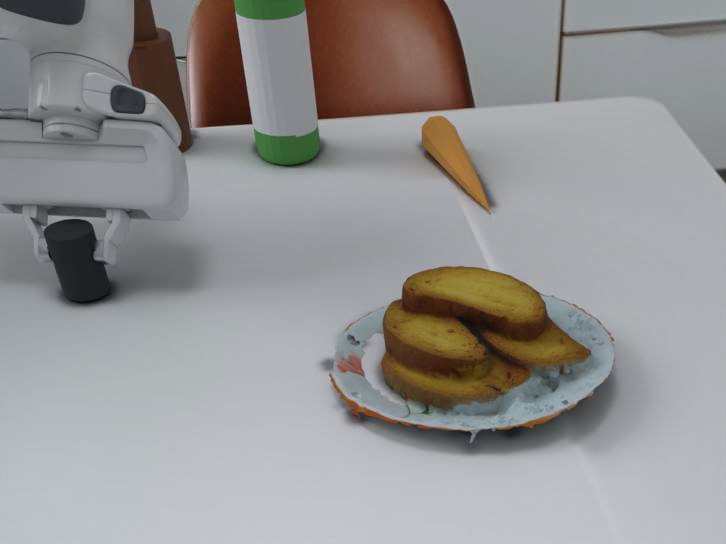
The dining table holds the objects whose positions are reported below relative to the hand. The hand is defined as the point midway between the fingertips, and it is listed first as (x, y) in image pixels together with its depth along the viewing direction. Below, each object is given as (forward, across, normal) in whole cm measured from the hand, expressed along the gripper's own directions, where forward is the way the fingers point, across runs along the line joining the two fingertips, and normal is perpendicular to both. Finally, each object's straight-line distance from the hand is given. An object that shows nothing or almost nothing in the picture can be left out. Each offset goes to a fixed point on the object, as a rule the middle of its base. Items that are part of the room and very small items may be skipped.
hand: (75, 261), depth 90 cm
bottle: (-24, -4, +31) cm, 39 cm away
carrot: (-20, +33, +26) cm, 47 cm away
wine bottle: (-23, +12, +30) cm, 40 cm away
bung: (+3, 0, +4) cm, 4 cm away
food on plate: (+10, +38, -3) cm, 40 cm away
